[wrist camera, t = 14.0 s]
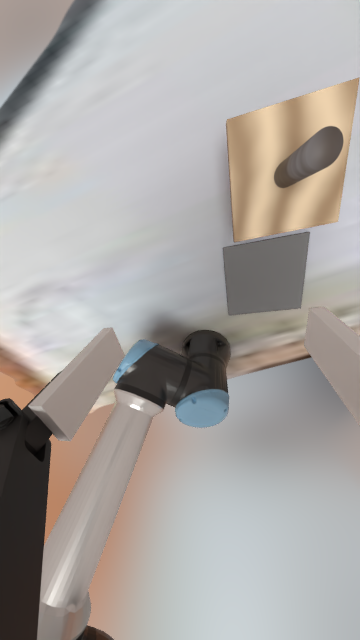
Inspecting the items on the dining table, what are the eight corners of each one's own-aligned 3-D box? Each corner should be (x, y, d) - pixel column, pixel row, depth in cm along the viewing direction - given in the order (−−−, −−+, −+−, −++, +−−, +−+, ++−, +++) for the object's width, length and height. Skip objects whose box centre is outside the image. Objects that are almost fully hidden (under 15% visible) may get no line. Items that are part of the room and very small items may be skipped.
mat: (228, 314, 52) (228, 315, 51) (222, 247, 43) (222, 248, 43) (299, 307, 47) (300, 308, 47) (308, 231, 39) (309, 232, 39)
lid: (233, 241, 31) (246, 246, 22) (225, 123, 25) (239, 63, 16) (333, 222, 28) (394, 218, 19) (353, 83, 22) (455, -17, 13)
